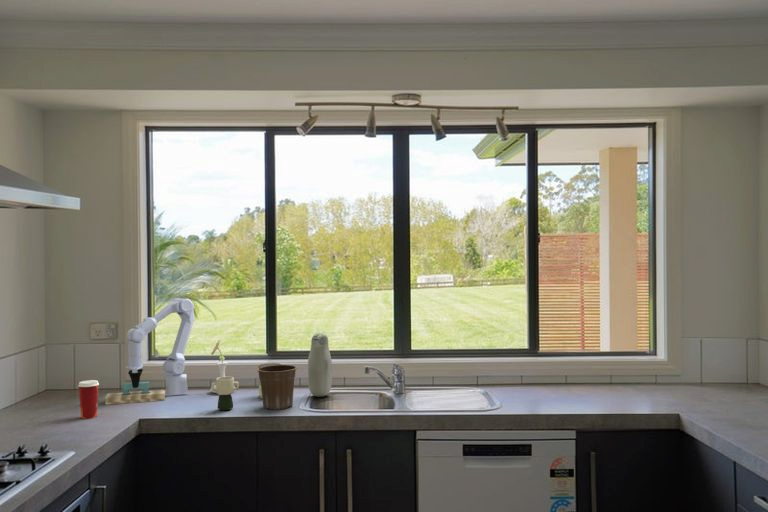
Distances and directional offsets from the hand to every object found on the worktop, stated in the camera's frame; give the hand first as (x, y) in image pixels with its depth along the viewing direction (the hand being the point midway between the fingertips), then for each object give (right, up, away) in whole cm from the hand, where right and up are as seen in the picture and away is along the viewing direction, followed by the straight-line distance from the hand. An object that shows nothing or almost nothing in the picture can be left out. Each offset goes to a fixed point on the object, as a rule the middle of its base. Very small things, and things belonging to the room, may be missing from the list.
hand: (135, 386), depth 284 cm
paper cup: (-7, -6, -30) cm, 31 cm away
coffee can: (+59, -5, +4) cm, 59 cm away
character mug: (+44, -6, -20) cm, 49 cm away
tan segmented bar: (0, -6, 0) cm, 6 cm away
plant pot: (+65, -5, -16) cm, 67 cm away
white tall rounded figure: (+81, -5, +3) cm, 81 cm away
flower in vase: (+35, -6, +13) cm, 38 cm away
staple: (0, -5, 0) cm, 5 cm away
